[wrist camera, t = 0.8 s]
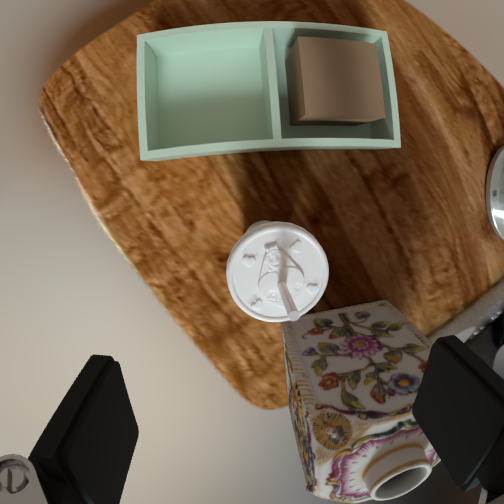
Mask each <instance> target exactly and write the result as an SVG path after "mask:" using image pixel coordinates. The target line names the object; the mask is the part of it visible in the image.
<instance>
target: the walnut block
mask: <svg viewBox="0 0 504 504" xmlns="http://www.w3.org/2000/svg"><path fill="white" fill-rule="evenodd" d="M285 70H286V81H287V92H288V104H289V117H290V126H306V125H327V126H358V125H361V124H365V123H368V122H371V121H375V120H378V119H382V118H385V110H384V100H383V91H382V82H381V75H380V68H379V61H378V54H377V48H376V44H375V43H368V42H361V41H353V40H343V39H332V38H318V37H297V39H296V41H295V43H294V45H293V47H292V49H291V50H290V52H289V54H288V56H287V58H286V60H285Z"/></svg>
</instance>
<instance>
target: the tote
mask: <svg viewBox="0 0 504 504" xmlns="http://www.w3.org/2000/svg"><path fill="white" fill-rule="evenodd" d="M297 37H318V38H332V39H343V40H353V41H361V42H368V43H375V44H376V48H377V54H378V61H379V68H380V75H381V82H382V91H383V100H384V110H385V118H382V119H378V120H375V121H371V122H368V123H365V124H361V125H358V126H327V125H306V126H290V117H289V104H288V92H287V81H286V70H285V60H286V58H287V56H288V54H289V52H290V50H291V49H292V47H293V45H294V43H295V41H296V39H297ZM137 106H138V128H139V145H140V159H141V160H146V161H162V160H170V159H179V158H187V157H197V156H207V155H218V154H230V153H243V152H259V151H279V150H309V149H369V150H377V149H389V148H401V140H400V126H399V114H398V104H397V95H396V87H395V79H394V72H393V65H392V59H391V53H390V47H389V41H388V36H387V32H386V31H380V30H374V29H368V28H361V27H353V26H345V25H336V24H325V23H311V22H287V21H257V22H232V23H218V24H207V25H198V26H189V27H182V28H175V29H169V30H162V31H157V32H151V33H146V34H141V35H137Z"/></svg>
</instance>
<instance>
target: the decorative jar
mask: <svg viewBox="0 0 504 504" xmlns="http://www.w3.org/2000/svg"><path fill="white" fill-rule="evenodd" d="M281 328H282V339H283V350H284V361H285V372H286V383H287V393H288V404H289V409H290V413H291V419H292V424H293V429H294V433H295V438H296V442H297V447H298V451H299V456H300V460H301V463H302V468H303V471H304V475H305V480H306V483H307V486H306V490H307V491H309V492H310V493H312V494H314V495H316V496H318V497H322V498H323V499H325V500H329V501H331V500H332V501H338V502H347V503H360V502H364V501H368V500H371V499H375V500H388V499H393V498H396V497H399V496H401V495H403V494H405V493H407V492H409V491H411V490H412V489H414V488H415V487H417V486H418V485H419V484H420V483H422V482H423V481H424V480H425V479H426V478H427V477H428V476H429V474H430V473H431V470H432V468H433V467H434V466H435V465H436V464H437V463H438V462H439V461H441V459H440V458H439V456H438V455H437V453H436V451H435V450H434V448H433V447H432V445H431V443H430V442H429V440H428V439H427V437H426V436H425V434H424V432H423V431H422V429H421V428H420V426H419V425H418V423H417V421H416V420H415V418H414V417H413V414H412V407H413V404H414V401H415V398H416V395H417V393H418V390H419V387H420V383H421V380H422V377H423V374H424V371H425V367H426V364H427V361H428V357H429V354H430V350H431V347H432V345H433V344H432V342H430V340H429V339H428V338H427V337H426V336H425V335H424V334H423V333H422V332H421V331H420V330H419V329H418V328H417V327H416V326H415V325H414V324H413V323H412V322H411V321H410V320H408V319H407V318H406V317H405V316H404V315H403V314H402V313H401V312H400V311H399V310H398V309H396V308H395V307H394V306H393V305H392V304H391V303H389V302H388V301H387V300H380V301H376V302H370V303H364V304H358V305H353V306H349V307H344V308H338V309H333V310H328V311H323V312H317V313H312V314H305V315H301V316H300V317H299V319H298V320H296V321H291V320H288V321H283V322H281Z"/></svg>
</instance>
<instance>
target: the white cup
mask: <svg viewBox="0 0 504 504" xmlns="http://www.w3.org/2000/svg"><path fill="white" fill-rule="evenodd" d="M226 275H227V282H228V287H229V290H230V293H231V295H232V297H233V299H234V301H235V302H236V304H237V305H238V306H239V307H240V308H241V309H242V310H243V311H244V312H246V313H247V314H249V315H250V316H252V317H254V318H257V319H259V320H263V321H267V322H283V321H288V320H291V321H296V320H298V319H299V317H300V316H301V315H303V314H305V313H306V312H308V311H309V310H310V309H311V308H312V307H313V306H314V305H315V304H316V303H317V302H318V301H319V299H320V298H321V296H322V295H323V293H324V291H325V288H326V285H327V282H328V275H329V268H328V261H327V257H326V255H325V252H324V250H323V248H322V247H321V245H320V244H319V243H318V241H317V240H316V239H315V237H314V236H313V235H312V234H311V233H309V232H308V231H307V230H305V229H304V228H302V227H300V226H297V225H295V224H292V223H288V222H278V221H276V222H271V221H266V220H263V221H258V222H255V223H254V224H252V225H251V226H250V227H249V228H248V229H247V231H246V232H245V234H244V235H243V236H242V237H240V239H239V240H238V241H237V243H236V244H235V245H234V247H233V248H232V250H231V253H230V255H229V258H228V261H227V270H226Z"/></svg>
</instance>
